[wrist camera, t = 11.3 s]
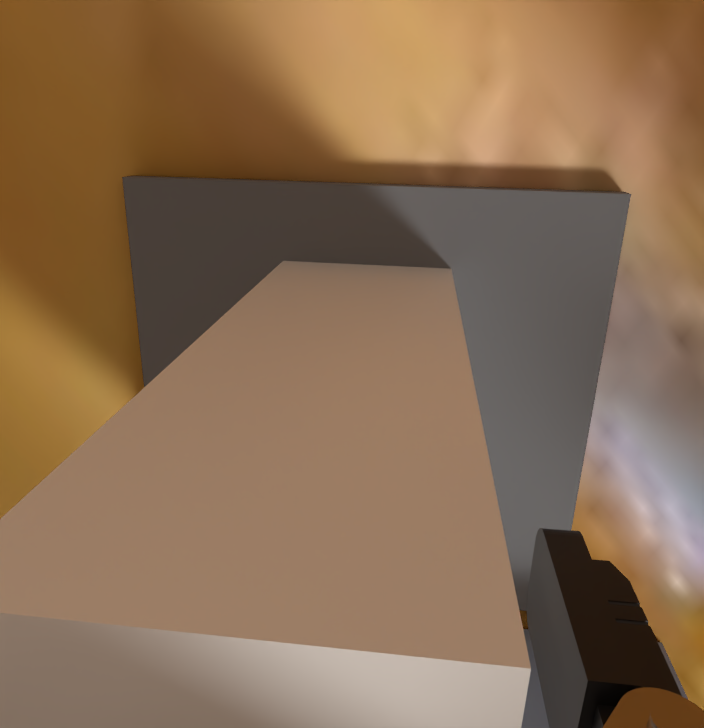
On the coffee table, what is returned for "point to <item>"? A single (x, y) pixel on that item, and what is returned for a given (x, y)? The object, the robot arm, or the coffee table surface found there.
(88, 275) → the coffee table surface
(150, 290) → the rubber pad
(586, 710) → the robot arm
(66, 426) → the coffee table surface
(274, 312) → the packed carton
